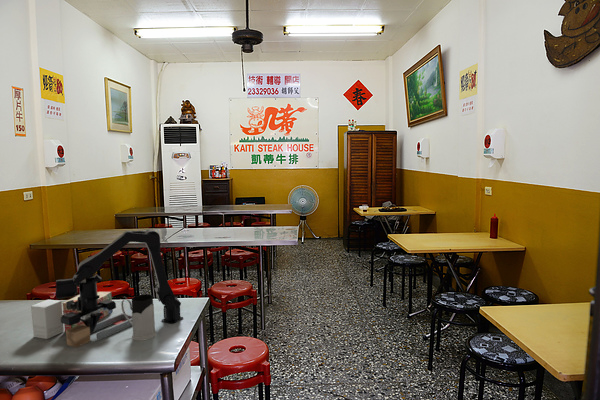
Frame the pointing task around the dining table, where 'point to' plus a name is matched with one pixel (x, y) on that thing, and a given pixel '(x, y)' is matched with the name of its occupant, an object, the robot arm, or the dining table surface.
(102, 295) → the stack of blocks
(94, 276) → the robot arm
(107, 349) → the dining table surface
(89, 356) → the dining table surface
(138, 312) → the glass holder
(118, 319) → the trap channel
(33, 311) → the supplement box
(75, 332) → the tan cube
